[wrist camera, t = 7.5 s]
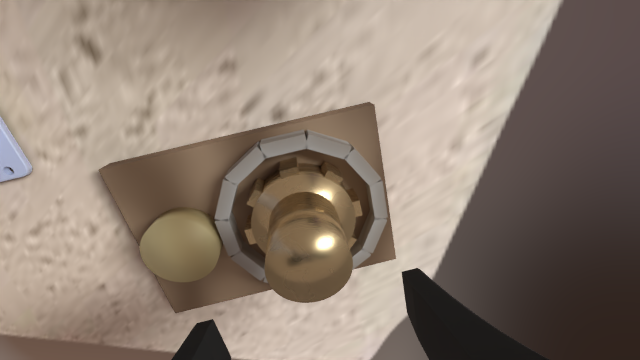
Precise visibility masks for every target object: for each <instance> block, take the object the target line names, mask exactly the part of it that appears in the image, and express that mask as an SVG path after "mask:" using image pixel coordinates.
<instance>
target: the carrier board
mask: <svg viewBox="0 0 640 360" xmlns="http://www.w3.org/2000/svg"><path fill="white" fill-rule="evenodd" d="M294 157H297V161H298V163H310V164H315V165H319V166H321V165H322V163H323V162H324V161H326V162H328V163H330V164H332V165H333V166H335V167H337V168H338V169H339V171H340V173H341V175H342V177H343V180H342V183H343V185H344V186H345V188H346V190H348V189H351V188H353V189H354V191H355V193H356V195H357V196H358V198H359V200H360V205H361V210H362V216H358V217H356V223H355V229H354V234H355V236H356V239H357V240H356V242H355V243H354V244H353V246H352V247H351V248H350V251H351V254H352V258H353V269H356V268H361V267H365V266H369V265H373V264H377V263H381V262H385V261H389V260H393V259H396V255H395V248H394V241H393V234H392V227H391V220H390V213H389V206H388V199H387V192H386V185H385V177H384V170H383V163H382V156H381V149H380V142H379V135H378V128H377V121H376V114H375V107H374V104H372V103H370V102H367V103H363V104H359V105H355V106H350V107H346V108H342V109H338V110H333V111H329V112H325V113H321V114H317V115H312V116H308V117H304V118H300V119H295V120H291V121H287V122H283V123H278V124H274V125H270V126H266V127H262V128H257V129H253V130H249V131H245V132H240V133H236V134H232V135H228V136H224V137H219V138H215V139H211V140H207V141H202V142H198V143H194V144H190V145H185V146H181V147H177V148H173V149H169V150H164V151H160V152H156V153H152V154H147V155H143V156H139V157H135V158H131V159H126V160H122V161H118V162H114V163H110V164H108V165H106V166H105V167H103V168H101V169H99V172H100V174H101V176H102V178H103V179H104V181H105V183H106V185H107V187H108V189H109V191H110V192H111V194H112V196H113V198H114V200H115V202H116V204H117V205H118V207H119V209H120V211H121V213H122V215H123V217H124V219H125V220H126V222H127V224H128V226H129V228H130V230H131V232H132V233H133V235H134V237H135V239H136V241H137V243H138V245H139V246H140V254H141V257H142V260H143V262H144V263H145V265H146V266H147V267H148V268H149V269H150V270H151V271H152V272H153V273H154V274H155V276H156V278H157V280H158V282H159V284H160V285H161V287H162V289H163V291H164V293H165V295H166V297H167V298H168V300H169V302H170V304H171V306H172V308H173V310H174V312H175V313H178V312H182V311H187V310H191V309H195V308H199V307H203V306H207V305H211V304H215V303H219V302H223V301H227V300H231V299H235V298H239V297H243V296H247V295H251V294H255V293H259V292H263V291H267V290H271V289H272V288H271V286H270V285H269V284H268V281H267V279H266V276H265V257H266V254H265V253H264V252H263V251H262V250H261V248H260V247H259V246H258V244H257V243H255V244H251V245H250V244H249V241H248V239H247V236H246V233H245V231H244V230H245V226H246V222H247V218H248V215H252V212H253V207H252V206H250V205H247V201H248V197H249V193H250V190H251V189H252V187H253V185H254V183H255V182H256V180H257V178H260V179H262V180H264V181H265V180H266V178H267V177H268V176H270V175H271V174H272V173H273V172H275V171H276V170H278V169H280V161H283V160H287V159H290V158H294ZM353 269H352V270H353Z"/></svg>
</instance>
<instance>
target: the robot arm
mask: <svg viewBox="0 0 640 360" xmlns="http://www.w3.org/2000/svg"><path fill="white" fill-rule="evenodd" d="M9 167H10V168H12V169H13V170H14V172H12V171H11V170H10V169H9ZM31 172H32V166H31V164H30V162H29V161H28V159H27V158H26V156H25V155H24V153H23V151H22V150H21V148H20V147H19V145H18V143H17V142H16V140H15V139H14V137H13V135H12V134H11V132H10V131H9V129H8V127H7V126H6V124H5V123H4V121H3V119H2V118H1V116H0V182H3V181H7V180H11V179H15V178H20V177H24V176H26V175H28V174H30V173H31ZM402 278H403V285H404V293H405V300H406V308H407V313H408V316H409V318H410V320H411V323H412V325H413V328H414V330H415V333H416V335H417V337H418V339H419V341H420V343H421V345H422V347H423V349H424V351H425V353H426V354H427V356H428V358H429V360H549V359H547V358H545V357H543V356H541V355H540V354H538V353H536V352H535V351H532V350H531V349H529V348H527V347H526V346H524V345H522V344H521V343H519V342H517V341H516V340H514V339H512V338H511V337H509V336H507V335H506V334H504V333H503V332H501V331H500V330H498V329H497V328H495V327H494V326H492V325H491V324H489V323H487V322H486V321H485V320H483V319H481V318H480V317H479V316H478V315H476V314H475V313H473V312H472V311H471V310H469V309H468V308H467V307H465V306H464V305H463V304H461V303H460V302H459V301H457V300H456V299H454V298H453V297H452V296H451V295H449V294H448V293H447V292H446V291H445V290H443V289H442V288H441V287H440V286H439V285H437V284H436V283H435V282H434V281H433V280H431V279H430V278H429V277H428V276H427V275H426V274H425V273H423V272H422V271H421V270H420V269H418V268H416V269H412V270H408V271H404V272H402ZM172 360H231V356H230V354H229V352H228V349H227V347H226V345H225V343H224V341H223V339H222V337H221V335H220V333H219V331H218V329H217V327H216V324H215V322H214V320H213V319H212V320H208V321H204V322H200V323H197V324H196V325H195V327H194V328H193V329H192V331H191V332H190V334H189V335H188V337H187V338H186V339H185V341H184V342H183V344H182V345H181V347H180V348H179V350H178V351H177V353H176V354H175V355H174V357H173V358H172Z"/></svg>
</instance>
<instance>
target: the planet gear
mask: <svg viewBox="0 0 640 360" xmlns="http://www.w3.org/2000/svg"><path fill="white" fill-rule="evenodd" d="M342 180H343V177H342V175H341V173H340V171H339V169H338V168H337V167H335V166H333V165H332V164H330V163H328V162H326V161H324V162H323V163H322V165H321V166H319V165H315V164H310V163H298V161H297V157H294V158H290V159H287V160H283V161H280V169H278V170H276V171H275V172H273V173H272V174H271V175H270V176H268V177H267V178H266V180H265V181H264V180H262V179H260V178H257V180H256V182H255V183H254V185H253V187H252V189H251V190H250V193H249V197H248V201H247V205H250V206H252V207H253V212H252V215H248V218H247V222H246V226H245V230H244V231H245V233H246V236H247V239H248V241H249V244H250V245H251V244H255V243H257V244H258V246H259V247H260V248H261V250H262V251H263V252H264V253H265V254H266V257H265V276H266V279H267V281H268V284H269V285H270V286H271V288H272V289H273V290H274V291H275V292H276V293H277V294H279V295H280V296H282V297H284V298H286V299H288V300H291V301H295V302H302V303H309V302H317V301H321V300H324V299H326V298H329V297H331V296H332V295H334V294H336V293H337V292H338V291H340V290H341V289H342V288H343V287H344V285H345V284H346V283H347V281H348V280H349V278H350V276H351V273H352V269H353V258H352V254H351V251H350V248H351V247H352V246H353V244H354V243H355V242H356V240H357V239H356V236H355V234H354V229H355V223H356V217H358V216H362V210H361V205H360V200H359V198H358V196H357V195H356V193H355V191H354V189H353V188H351V189H348V190H346V188H345V186H344V185H343V183H342Z"/></svg>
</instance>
